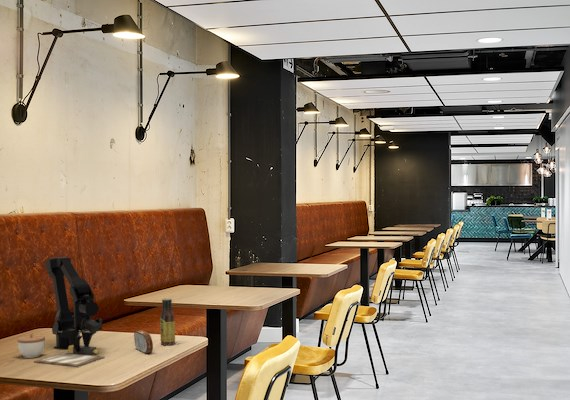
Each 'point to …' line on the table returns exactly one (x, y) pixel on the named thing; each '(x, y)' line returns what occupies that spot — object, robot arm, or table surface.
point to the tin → (143, 341)
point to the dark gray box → (84, 350)
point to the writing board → (69, 359)
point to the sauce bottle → (167, 323)
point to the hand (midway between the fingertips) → (82, 350)
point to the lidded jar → (31, 345)
